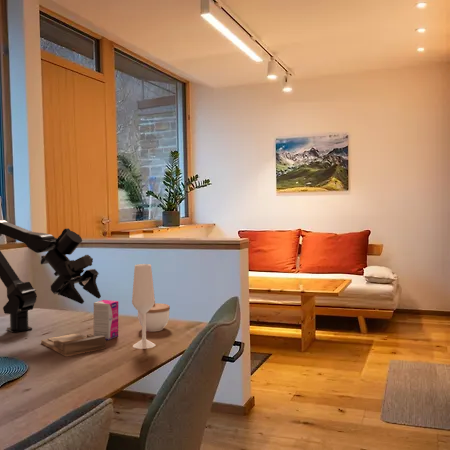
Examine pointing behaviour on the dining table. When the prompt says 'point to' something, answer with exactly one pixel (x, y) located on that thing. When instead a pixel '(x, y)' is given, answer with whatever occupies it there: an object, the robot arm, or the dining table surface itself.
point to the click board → (75, 344)
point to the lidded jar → (156, 317)
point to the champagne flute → (143, 299)
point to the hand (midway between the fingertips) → (91, 300)
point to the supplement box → (106, 319)
